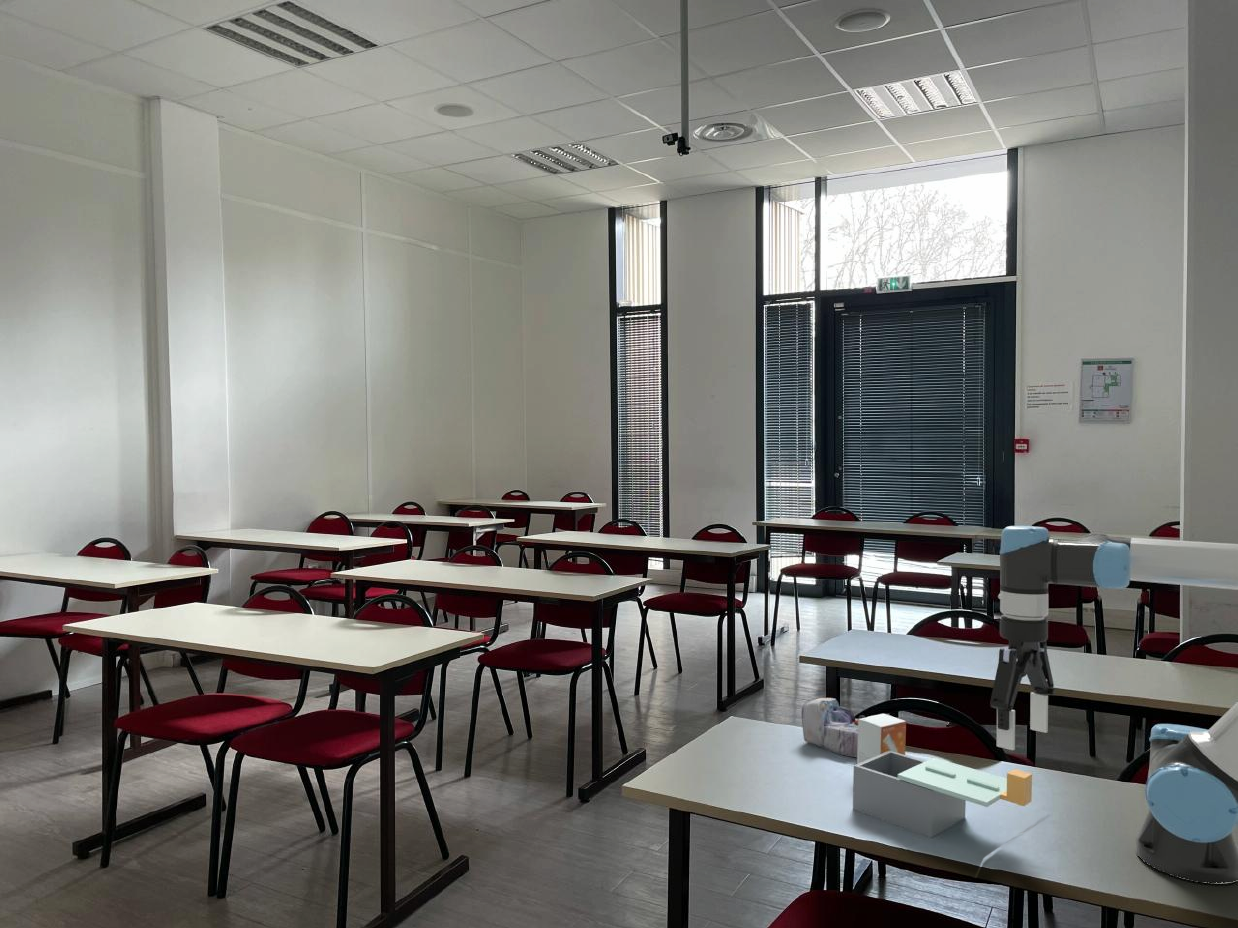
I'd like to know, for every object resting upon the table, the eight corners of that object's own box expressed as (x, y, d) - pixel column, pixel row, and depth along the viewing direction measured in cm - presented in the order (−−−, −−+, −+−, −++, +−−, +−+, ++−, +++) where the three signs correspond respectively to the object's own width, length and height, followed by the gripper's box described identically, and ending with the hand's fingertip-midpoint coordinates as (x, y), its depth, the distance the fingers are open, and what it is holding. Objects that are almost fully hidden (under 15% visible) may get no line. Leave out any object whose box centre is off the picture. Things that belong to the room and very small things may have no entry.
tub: (965, 820, 163) (966, 773, 163) (931, 840, 154) (932, 790, 154) (888, 794, 175) (889, 750, 174) (852, 812, 166) (853, 765, 166)
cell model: (815, 688, 213) (897, 705, 201) (813, 732, 213) (895, 751, 202) (795, 700, 202) (880, 718, 191) (793, 746, 202) (877, 767, 191)
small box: (879, 789, 177) (881, 726, 177) (855, 779, 182) (857, 718, 182) (905, 781, 182) (907, 720, 181) (881, 772, 187) (882, 712, 187)
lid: (1043, 793, 152) (1044, 766, 152) (1010, 814, 143) (1011, 785, 143) (933, 761, 168) (934, 736, 168) (897, 778, 158) (898, 752, 158)
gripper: (1031, 605, 160) (1030, 719, 160) (968, 622, 143) (967, 749, 143) (1074, 610, 154) (1073, 728, 154) (1014, 628, 137) (1013, 761, 137)
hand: (1022, 739), depth 149 cm, fingers open, 13 cm apart
